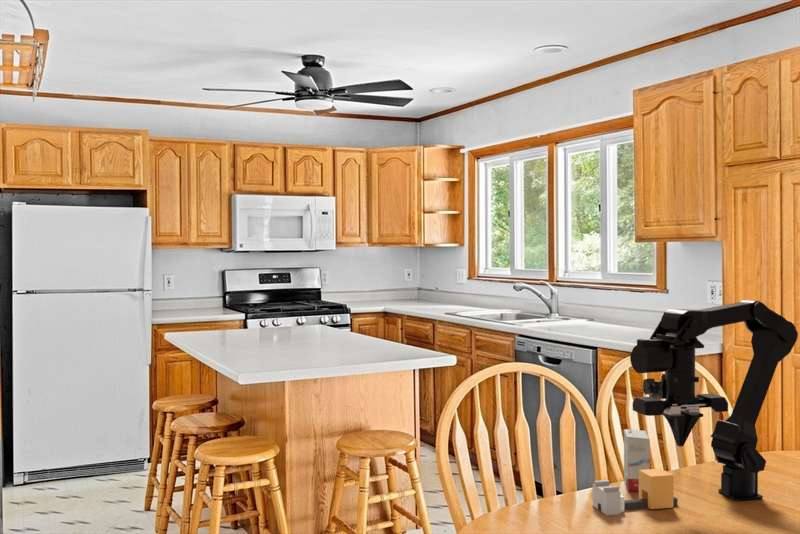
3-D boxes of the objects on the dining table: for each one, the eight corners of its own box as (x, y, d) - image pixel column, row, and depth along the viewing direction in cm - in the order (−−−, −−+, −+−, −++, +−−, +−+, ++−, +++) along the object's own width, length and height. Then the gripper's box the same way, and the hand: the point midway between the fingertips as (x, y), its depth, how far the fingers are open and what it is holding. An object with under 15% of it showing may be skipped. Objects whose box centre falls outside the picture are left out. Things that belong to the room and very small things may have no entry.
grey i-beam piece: (606, 504, 158) (606, 479, 158) (620, 514, 152) (620, 487, 152) (592, 505, 157) (592, 480, 157) (606, 515, 152) (606, 488, 151)
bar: (673, 503, 159) (673, 496, 159) (677, 505, 157) (677, 498, 157) (597, 509, 155) (597, 502, 155) (601, 511, 154) (601, 504, 154)
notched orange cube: (660, 499, 160) (660, 468, 160) (673, 507, 155) (673, 474, 155) (638, 501, 159) (638, 469, 159) (650, 509, 154) (651, 476, 154)
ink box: (650, 492, 166) (650, 438, 165) (627, 491, 167) (627, 437, 166) (645, 481, 174) (646, 429, 174) (623, 479, 175) (623, 428, 175)
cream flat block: (615, 505, 157) (615, 491, 157) (624, 511, 154) (624, 496, 154) (611, 506, 157) (611, 491, 157) (619, 512, 153) (619, 497, 153)
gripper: (697, 363, 168) (697, 434, 168) (619, 366, 164) (619, 439, 164) (730, 371, 157) (729, 447, 157) (646, 374, 153) (646, 452, 153)
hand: (680, 446), depth 158 cm, fingers closed
